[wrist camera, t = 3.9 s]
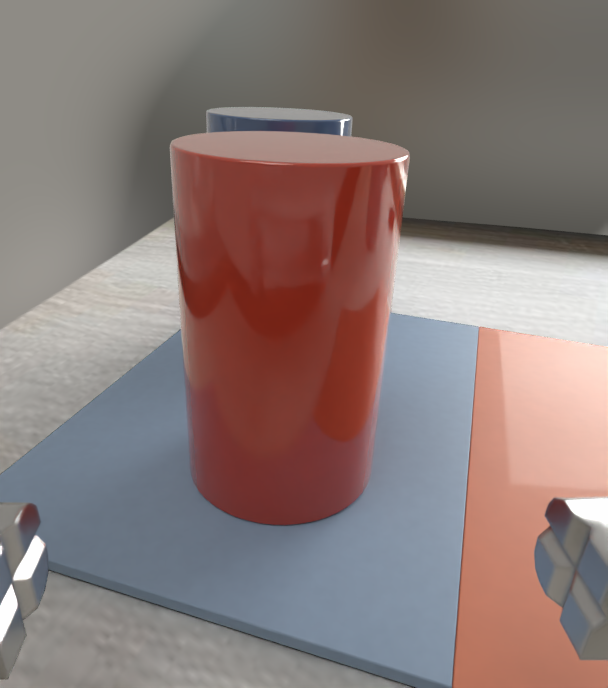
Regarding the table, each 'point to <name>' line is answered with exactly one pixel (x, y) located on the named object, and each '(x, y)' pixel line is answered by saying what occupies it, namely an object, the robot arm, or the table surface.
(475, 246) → the table surface
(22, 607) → the robot arm
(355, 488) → the red upright cylinder
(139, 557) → the sorting board
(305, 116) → the navy blue cylinder
